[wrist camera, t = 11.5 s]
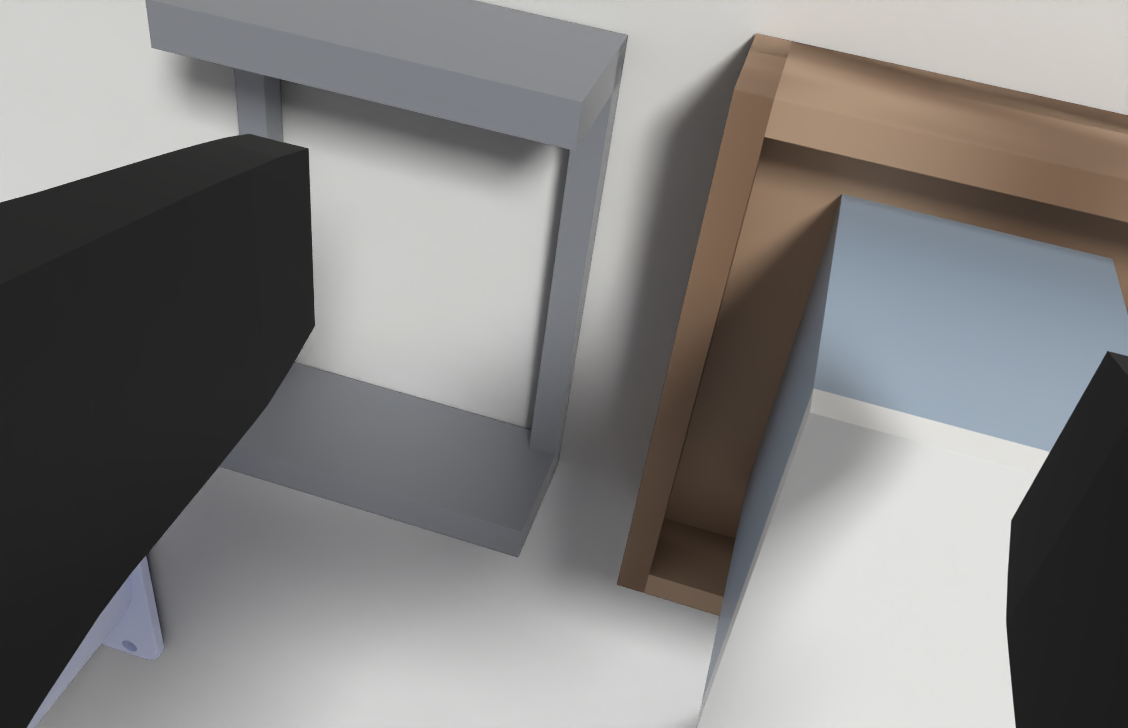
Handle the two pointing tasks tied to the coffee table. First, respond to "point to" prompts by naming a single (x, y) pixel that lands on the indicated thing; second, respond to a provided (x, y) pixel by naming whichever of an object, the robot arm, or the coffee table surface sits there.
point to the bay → (457, 93)
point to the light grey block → (903, 474)
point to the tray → (797, 240)
